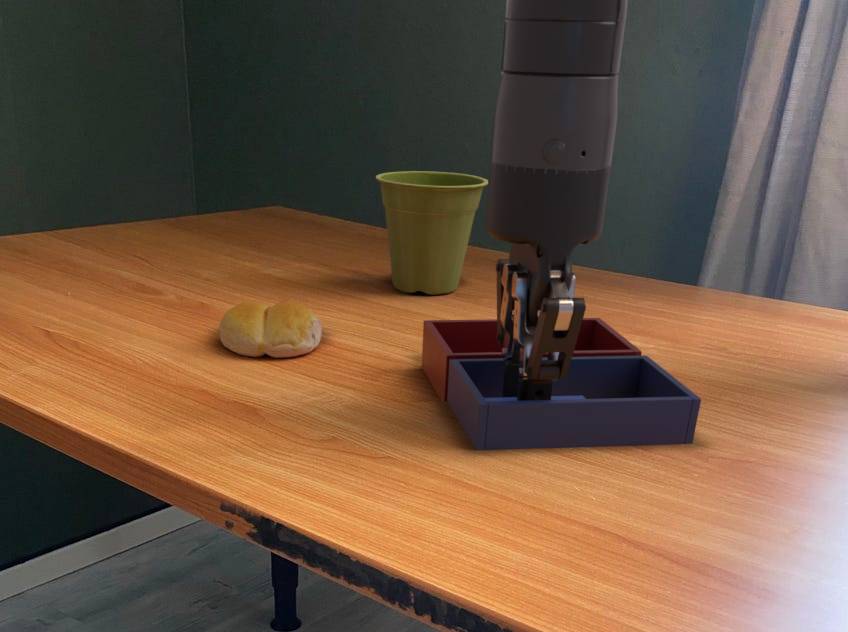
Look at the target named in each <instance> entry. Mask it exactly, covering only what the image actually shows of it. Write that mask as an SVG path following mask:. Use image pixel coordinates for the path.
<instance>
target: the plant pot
mask: <svg viewBox="0 0 848 632" xmlns="http://www.w3.org/2000/svg"><path fill="white" fill-rule="evenodd" d="M375 180H376V181H377V182H378V183H380V189H381V190H380V192H381V199H382V205H383V206H384V213H385V221H386V230H387V240H388V241H387V242H388V249H389V259H390V260H389V261H390V269H391V270H390V271H391V279H392V281H391V282H392V286H393V287H394V288H395V289H396V290H398V291H402V292H403V293H406V294H407V293H408V294H414V293H416V292H423V293H424V294H426V295H430V296H438V295H441V294H442V295H443V294H445V295H447V294H451V293H453V292H455V291H456V290H457V288H458V287H459V285H460V281H461V276H462V272H463V268H464V263H465V258H466V254H467V249H468V245H469V241H470V237H471V232H472V227H473V223H474V221H475V220H474V219H475V214H476V211H477V210H478V209H479V206H480V201H481V197H482V195H483V189H484V188H486V187H488V182H489V179H486V178H484V177H481V176H477V175H473V174H465V173H457V172H447V171H432V170H431V171H429V170H427V171H426V170H424V171H420V170H417V171H416V170H409V171H408V170H405V171H404V170H403V171H390V172H382V173H379V174H377V175H375Z"/></svg>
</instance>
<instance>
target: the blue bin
mask: <svg viewBox="0 0 848 632" xmlns="http://www.w3.org/2000/svg"><path fill="white" fill-rule="evenodd" d="M545 360H548V357H545V358H542V361H545ZM507 362H508V361H504V360H503V358H494V359H458V360H457V359H450V361H449V378H448V394H447V402H446V403H447V404H448V405H449V408H450V409H451V410H452V412H453V414H454V416H455V418H456V419H457V421H458V423H459V424H460V426H461V428H462V429H463V431H464V433H465V434H466V436H467V438H468V440H469V441H470V443H471V445H472V446H473V449H474V450H475V451H477V452H478V451H505V450H534V449H535V450H536V449H537V450H538V449H539V450H540V449H542V450H543V449H571V448H601V447H608V448H609V447H634V446H635V447H637V446H638V447H639V446H669V445H671V446H672V445H693V443H694V437H695V433H696V428H697V424H698V423H697V422H698V418H699V413H700V409H701V403H702V398H701V397H700V396H698V395H697V394H696V393H695V392H693V391H692V390H691V389H689V388H688V387H687V386H686V385H685V384H683V383H682V382H681V381H680V380H678V378H676V377H674V376H673V374H671V373H669V372H668V371H667V370H666V369H665V368H663V367H662V366H660V364H658V363H657V362H656V361H654V360H653V359H652V358H651V357H649V356H648V355H641V356H595V357H572V359H571V363H570V366H569V370H568V373H567V377H566V379H557V380H553V384H552V393H551V396H580V395H582V396H584V398H585V399H566V400H526V401H488V402H486V400H485V399H484V398H501V397H502V394H503V383H504V372H505V363H507Z"/></svg>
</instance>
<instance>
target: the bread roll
mask: <svg viewBox="0 0 848 632" xmlns="http://www.w3.org/2000/svg"><path fill="white" fill-rule="evenodd" d="M322 325H323V323H322V321H321V319H319V318H318V317H317V316H316V314H315V313H314V312H313V311H311V309H309V308H308V307H307V306H306V305H304V304H302V303H300V302H298V301H294V300H287V299H285V300H283V301H280V302H278V303H275V304H274V305H272V306H271V305H269V304H267V303H266V302H262V301H256V300H251V301H250V300H249V301H243V302H240V303H238V304H236V305H234V306H232V307H231V308H230V309H229V310H227V311H226V312H225V313H224V315H223V316H222V317H221V320H220V322H219V326H218V327H219V328H218V329H219V330H218V331H219V334H220V338H219V339H220V341H221V344H222V345H223V346H224V347H225V348H227V349H228V350H230V351H231V352H233V353H235V354H238V355H240V356H244V357H253V358H260V357H263V356H264V355H265V354H266V355H268V356H269V357H271V358H274V359H275V358H276V359H281V358H282V359H283V358H284V359H285V358H294V357H299V356H302V355H306V354H308V353H311V352H312V351H313V350H315V349H316V348H317V347H318V346H319V344H320V342H321V339H322V332H323V327H322Z"/></svg>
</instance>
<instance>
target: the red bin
mask: <svg viewBox="0 0 848 632" xmlns="http://www.w3.org/2000/svg"><path fill="white" fill-rule="evenodd" d="M422 325H423V326H422V327H423V328H422V329H423V330H422V349H421V351H422V352H421V369H422V371H423V372H424V373H423V374H425V376H426V379H427V380H428V382H429V383H430V385H431V387H432V389H433V390H434V392H435V394H436V396H437V398H438V400H439V401H440V403H448V402H447V394H448V378H449V361H450V359H457V360H458V359H494V358H503V357H502V354H501V351H502V348H503V345H498V341H497V338H496V335H497V318H496V319H495V318H494V319H493V318H492V319H489V318H488V319H487V318H486V319H431V320H430V319H429V320H428V319H427V320H423V324H422ZM642 353H643V351H642V350H641V349H639V348H638V347H636V345H634V344H633V343H632V342H630V341H629V340H628V339H627V338H625V337H624V336H623V335H622V334H621V333H619V332H618V331H617V330H615V328H613V327H612V326H610V324H608V323H607V322H605V321H604V320H602V318H600V317H583V320H582V324H581V328H580V331H579V335H578V338H577V342H576V345H575V349H574V352H573V356H572V357H595V356H642ZM545 357H548V352H547V353H545V354H544V355H543V358H545Z"/></svg>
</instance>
